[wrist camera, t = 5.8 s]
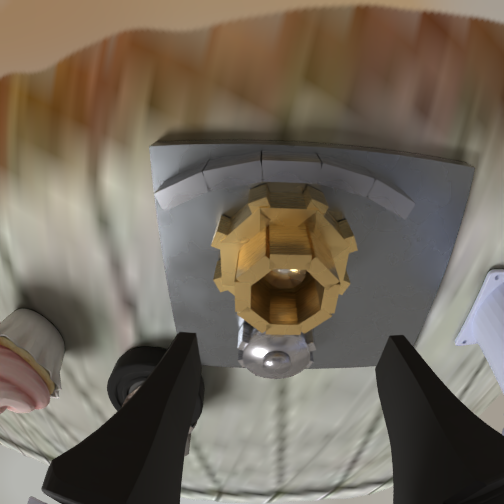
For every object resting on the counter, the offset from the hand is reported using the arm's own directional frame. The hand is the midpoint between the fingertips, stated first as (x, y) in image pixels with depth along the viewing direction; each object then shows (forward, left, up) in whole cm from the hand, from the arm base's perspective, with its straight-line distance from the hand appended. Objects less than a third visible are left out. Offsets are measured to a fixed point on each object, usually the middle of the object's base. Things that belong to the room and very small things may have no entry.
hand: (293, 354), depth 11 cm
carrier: (-2, +3, -9) cm, 9 cm away
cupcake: (+22, +11, -9) cm, 26 cm away
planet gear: (0, 0, -8) cm, 8 cm away
